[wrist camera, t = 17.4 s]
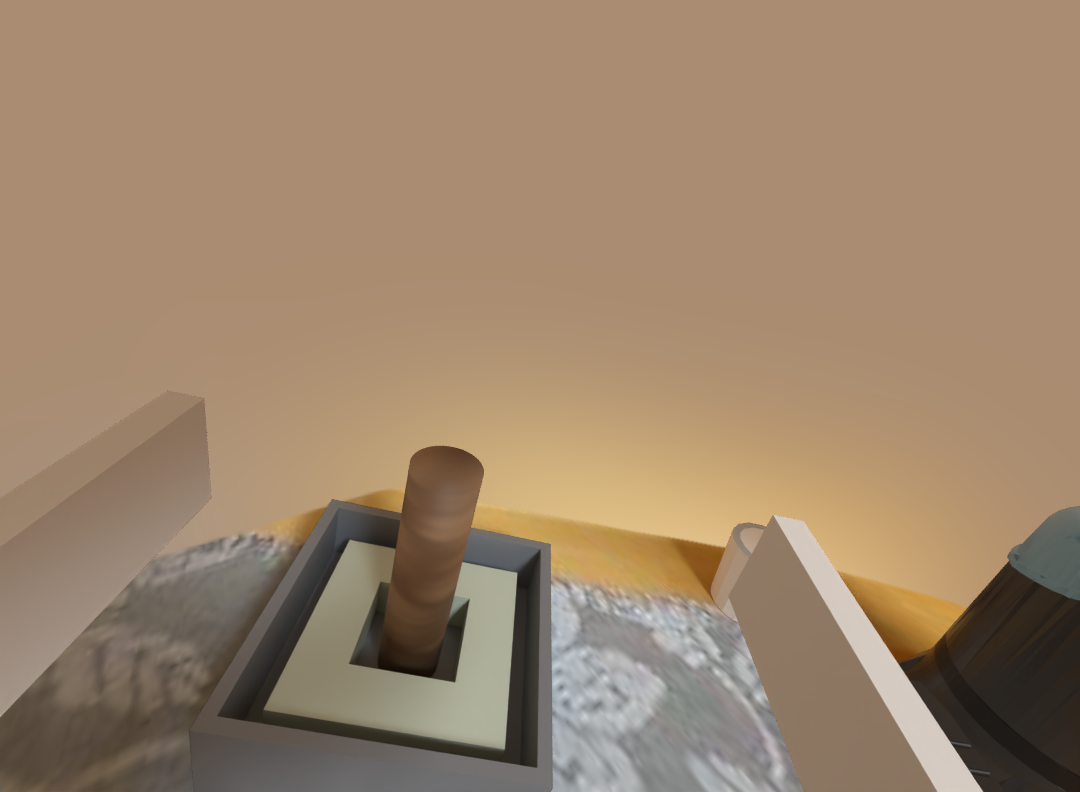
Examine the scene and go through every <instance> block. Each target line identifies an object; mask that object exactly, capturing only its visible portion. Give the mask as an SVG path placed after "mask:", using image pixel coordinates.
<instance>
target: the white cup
mask: <svg viewBox="0 0 1080 792" xmlns="http://www.w3.org/2000/svg"><path fill="white" fill-rule="evenodd" d="M765 529H766V527H764V526H762V525H757V524H753V523H743V524H738V525H737V526H736V527H735V528H734V529H733V531H732V533H731V536H730V539H729V541H728V544H727V546H726V549H725V551H724V554H723V556H722V559H721V562H720V564H719V567H718V569H717V572H716V574H715V577H714V579H713V582H712V585H711V595H712V598H713V600H714V602H715V604H716V605H717V606H718V607H719V608H720V610H721V611H722V612H723V613H724V614H726V615H727V616H728V617H730V618H731V619H732V620H734V621H736V622H738V620H737V618H736V615H735V612H734V610H733V607H732V605H731V602H730V599H729V597H728V596H729V594H730V592H731V590H732V588H733V587H734V585H735V583H736V581H737V579H738V578H739V576H740V574H741V572H742V570H743V568H744V567H745V565H746V563H747V561H748V559H749V558H750V556H751V554H752V552H753V550H754V549H755V547H756V545H757V543H758V541H759V539H760V538H761V536H762V534H763V532H764V530H765Z"/></svg>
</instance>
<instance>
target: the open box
mask: <svg viewBox="0 0 1080 792" xmlns="http://www.w3.org/2000/svg"><path fill="white" fill-rule="evenodd" d="M401 514H402V513H397V512H392V511H387V510H382V509H377V508H372V507H368V506H363V505H358V504H353V503H348V502H343V501H338V500H333V499H332V500H331V502H330V503H329V505H328V507H327V508H326V510H325V512H324V513H323V515H322V516H321V518H320V520H319V521H318V523H317V524H316V526H315V528H314V529H313V531H312V533H311V534H310V536H309V537H308V539H307V541H306V542H305V544H304V545H303V547H302V549H301V550H300V552H299V554H298V555H297V557H296V558H295V560H294V562H293V563H292V565H291V567H290V568H289V570H288V571H287V573H286V575H285V576H284V578H283V579H282V581H281V583H280V584H279V586H278V588H277V589H276V591H275V592H274V594H273V596H272V597H271V599H270V600H269V602H268V604H267V605H266V607H265V609H264V610H263V612H262V613H261V615H260V617H259V618H258V620H257V621H256V623H255V625H254V626H253V628H252V630H251V631H250V633H249V634H248V636H247V638H246V639H245V641H244V643H243V644H242V646H241V647H240V649H239V651H238V652H237V654H236V655H235V657H234V659H233V660H232V662H231V664H230V665H229V667H228V668H227V670H226V672H225V673H224V675H223V676H222V678H221V680H220V681H219V683H218V685H217V686H216V688H215V689H214V691H213V693H212V694H211V696H210V697H209V699H208V701H207V702H206V704H205V706H204V707H203V709H202V710H201V712H200V714H199V715H198V717H197V719H196V720H195V722H194V723H193V725H192V727H191V728H190V730H189V736H190V749H191V762H192V774H193V787H194V792H551V790H552V788H553V773H552V658H551V544H548V543H543V542H539V541H534V540H529V539H524V538H519V537H514V536H509V535H504V534H499V533H495V532H490V531H485V530H480V529H475V528H471V529H470V533H469V537H468V541H467V545H466V550H465V554H464V558H463V562H462V566H461V570H460V574H459V579H458V583H457V587H456V591H455V595H454V599H453V603H452V608H451V612H450V616H449V620H448V624H447V628H446V632H445V637H444V641H443V645H442V649H441V653H440V657H439V661H438V665H437V668H436V671H435V672H434V674H433V675H432V677H431V678H426V677H420V676H415V675H409V674H403V673H398V672H392V671H386V670H380V669H379V668H378V655H379V649H380V643H381V637H382V631H383V624H384V618H385V612H386V606H387V600H388V594H389V588H390V581H391V575H392V569H393V563H394V557H395V551H396V545H397V539H398V532H399V526H400V520H401Z"/></svg>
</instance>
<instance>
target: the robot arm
mask: <svg viewBox="0 0 1080 792" xmlns="http://www.w3.org/2000/svg"><path fill="white" fill-rule="evenodd" d="M210 499H211V485H210V471H209V457H208V445H207V430H206V417H205V404H204V398H201V397H196V396H191V395H186V394H181V393H176V392H171V391H166V392H165V393H163V394H162V395H160V396H159V397H157V398H155V399H154V400H152V401H151V402H150V403H148V404H146V405H145V406H143V407H141V408H140V409H138V410H137V411H135V412H134V413H132V414H130V415H129V416H128V417H126V418H124V419H123V420H121V421H120V422H118V423H116V424H115V425H114V426H112V427H110V428H109V429H107V430H106V431H104V432H102V433H101V434H99V435H98V436H96V437H95V438H93V439H92V440H90V441H88V442H87V443H85V444H84V445H82V446H81V447H79V448H77V449H76V450H74V451H73V452H71V453H70V454H68V455H66V456H65V457H63V458H62V459H60V460H59V461H57V462H56V463H54V464H52V465H51V466H49V467H48V468H46V469H45V470H43V471H41V472H40V473H38V474H37V475H35V476H34V477H32V478H31V479H29V480H27V481H26V482H24V483H23V484H21V485H20V486H18V487H16V488H15V489H14V490H12V491H10V492H9V493H7V494H6V495H4V496H2V497H1V498H0V717H1V716H2V715H3V714H4V713H5V712H6V711H7V710H8V709H9V708H10V707H11V705H12V704H13V703H14V702H15V701H16V700H17V699H18V698H19V697H20V696H21V695H22V694H23V693H24V692H25V691H26V690H27V689H28V688H29V687H30V686H31V685H32V684H33V683H34V682H35V681H36V680H37V679H38V677H39V676H40V675H41V674H42V673H43V672H44V671H45V670H46V669H47V668H48V667H49V666H50V665H51V664H52V663H53V662H54V661H55V660H56V659H57V658H58V657H59V656H60V655H61V654H62V653H63V652H64V651H65V649H66V648H67V647H68V646H69V645H70V644H71V643H72V642H73V641H74V640H75V639H76V638H77V637H78V636H79V635H80V634H81V633H82V632H83V631H84V630H85V629H86V628H87V627H88V626H89V625H90V624H91V623H92V621H93V620H94V619H95V618H96V617H97V616H98V615H99V614H100V613H101V612H102V611H103V610H104V609H105V608H106V607H107V606H108V605H109V604H110V603H111V602H112V601H113V600H114V599H115V598H116V597H117V596H118V595H119V593H120V592H121V591H122V590H123V589H124V588H125V587H126V586H127V585H128V584H129V583H130V582H131V581H132V580H133V579H134V578H135V577H136V576H137V575H138V574H139V573H140V572H141V571H142V570H143V569H144V568H145V567H146V565H147V564H148V563H149V562H150V561H151V560H152V559H153V558H154V557H155V556H156V555H157V554H158V553H159V552H160V551H161V550H162V549H163V548H164V547H165V546H166V545H167V544H168V543H169V542H170V541H171V540H172V538H173V537H174V536H175V535H176V534H177V533H178V532H179V531H180V530H181V529H182V528H183V527H184V526H185V525H186V524H187V523H188V522H189V521H190V520H191V519H192V518H193V517H194V516H195V514H197V513H198V511H199V510H200V509H201V508H202V507H203V506H204V505H205V504H206V503H207V502H208V501H209V500H210ZM1007 558H1008V559H1009V562H1008V563H1007V564H1006V565H1005V566H1004V567H1003V569H1001V571H1000V572H999V573H998V574H997V575H996V576H995V578H994V579H993V580H992V581H991V582H990V583H989V584H988V586H986V588H985V589H984V590H983V591H982V592H981V593H980V594H979V595H978V597H977V598H976V599H975V600H974V601H973V602H972V603H971V604H970V606H969V607H968V608H967V609H966V610H965V611H964V612H963V613H962V615H961V616H960V617H959V618H958V619H957V620H956V621H955V622H954V624H953V625H952V626H951V627H950V628H949V630H948V631H947V632H946V633H945V634H944V635H943V637H942V638H941V639H940V640H939V641H938V642H937V643H936V644H935V646H934V647H932V648H931V649H928V650H926V651H924V652H922V653H919V654H917V655H915V656H912V657H910V658H908V659H906V660H903V661H901V662H899V663H897V661H896V660H895V658H894V657H893V655H892V654H891V652H890V651H889V649H888V648H887V646H886V645H885V643H884V642H883V640H882V639H881V637H880V636H879V634H878V633H877V631H876V630H875V628H874V627H873V625H872V624H871V622H870V621H869V619H868V618H867V616H866V615H865V613H864V612H863V610H862V609H861V607H860V606H859V604H858V603H857V601H856V600H855V598H854V597H853V595H852V594H851V592H850V591H849V589H848V588H847V586H846V585H845V583H844V582H843V580H842V579H841V577H840V575H839V574H838V572H837V571H836V570H835V568H834V567H833V565H832V563H831V562H830V561H829V559H828V557H827V556H826V554H825V553H824V552H823V550H822V548H821V547H820V546H819V544H818V542H817V541H816V540H815V538H814V537H813V535H812V534H811V532H810V530H809V529H808V528H807V526H806V524H805V523H804V521H801V520H796V519H791V518H786V517H782V516H776V515H773V516H772V518H771V520H770V521H769V523H768V525H767V527H766V529H765V530H764V532H763V534H762V536H761V538H760V539H759V541H758V543H757V545H756V547H755V549H754V550H753V552H752V554H751V556H750V558H749V559H748V561H747V563H746V565H745V567H744V568H743V570H742V572H741V574H740V576H739V578H738V579H737V581H736V583H735V585H734V587H733V588H732V590H731V592H730V594H729V596H728V597H729V599H730V602H731V605H732V607H733V610H734V612H735V615H736V618H737V620H738V623H739V625H740V628H741V630H742V633H743V636H744V638H745V641H746V643H747V646H748V648H749V651H750V654H751V656H752V659H753V661H754V664H755V667H756V669H757V672H758V674H759V677H760V679H761V682H762V685H763V687H764V690H765V692H766V695H767V698H768V700H769V703H770V705H771V708H772V710H773V713H774V716H775V718H776V721H777V723H778V726H779V728H780V731H781V734H782V736H783V739H784V741H785V744H786V747H787V749H788V752H789V754H790V757H791V759H792V762H793V765H794V767H795V770H796V772H797V775H798V778H799V780H800V783H801V785H802V788H803V790H804V792H1080V506H1076V507H1070V508H1066V509H1063V510H1060V511H1058V512H1056V513H1054V514H1052V515H1051V516H1050V517H1048V518H1047V519H1046V520H1045V521H1044V522H1043V523H1042V524H1041V525H1040V526H1039V527H1038V528H1037V529H1036V530H1035V531H1034V532H1033V533H1032V534H1031V535H1030V536H1029V537H1028V538H1027V539H1026V540H1025V541H1024V542H1023V544H1019V545H1017V546H1015V547H1014V548H1013V549H1012V550H1011V551H1010V552H1009V554H1008V556H1007Z"/></svg>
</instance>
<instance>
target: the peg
mask: <svg viewBox="0 0 1080 792" xmlns="http://www.w3.org/2000/svg"><path fill="white" fill-rule="evenodd" d="M483 475H484V469H483V466H482V464H481V463H480V461H479V460H478V459H477V458H475V457H474V456H473V455H472V454H470V453H468V452H466V451H464V450H461V449H458V448H454V447H449V446H432V447H427V448H424V449H421V450H419V451H418V452H416V453H415V454H414V455H413V456H412V458H411V460H410V465H409V471H408V478H407V484H406V490H405V496H404V502H403V508H402V514H401V520H400V526H399V532H398V539H397V545H396V551H395V557H394V563H393V569H392V575H391V581H390V588H389V594H388V600H387V606H386V612H385V618H384V624H383V631H382V637H381V643H380V649H379V655H378V668H379V669H380V670H386V671H392V672H398V673H403V674H409V675H415V676H420V677H426V678H431V677H432V675H433V674H434V672H435V671H436V668H437V665H438V661H439V657H440V653H441V649H442V645H443V641H444V637H445V632H446V628H447V624H448V620H449V616H450V612H451V608H452V603H453V599H454V595H455V591H456V587H457V583H458V579H459V574H460V570H461V566H462V562H463V558H464V554H465V550H466V545H467V541H468V537H469V533H470V529H471V525H472V521H473V516H474V512H475V508H476V504H477V500H478V496H479V492H480V487H481V483H482V479H483Z"/></svg>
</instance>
